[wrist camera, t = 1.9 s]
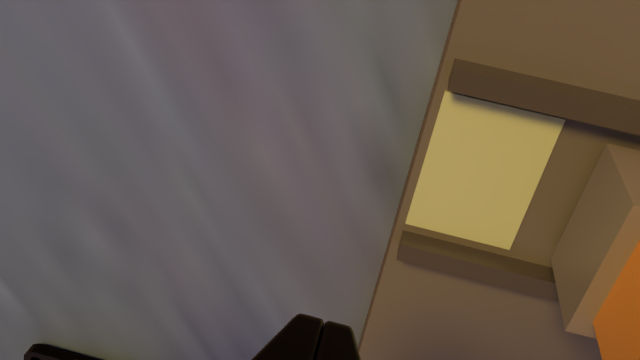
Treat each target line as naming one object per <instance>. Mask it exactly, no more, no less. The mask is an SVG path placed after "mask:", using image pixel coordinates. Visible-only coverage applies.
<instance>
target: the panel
mask: <svg viewBox="0 0 640 360" xmlns="http://www.w3.org/2000/svg"><path fill="white" fill-rule="evenodd" d="M606 143H609V144H613V145H617V146H621V147H626V148H630V149H634V150H638V151H640V0H458V2H457V6H456V9H455V13H454V16H453V20H452V23H451V27H450V30H449V34H448V37H447V40H446V44H445V47H444V51H443V54H442V58H441V61H440V65H439V68H438V72H437V75H436V79H435V82H434V86H433V89H432V93H431V96H430V99H429V103H428V106H427V110H426V113H425V117H424V120H423V124H422V127H421V131H420V134H419V138H418V141H417V145H416V148H415V152H414V155H413V158H412V162H411V165H410V169H409V172H408V176H407V179H406V183H405V186H404V190H403V193H402V197H401V200H400V204H399V207H398V211H397V214H396V217H395V221H394V224H393V228H392V231H391V235H390V238H389V242H388V245H387V249H386V252H385V256H384V259H383V263H382V266H381V270H380V273H379V276H378V280H377V283H376V287H375V290H374V294H373V297H372V301H371V304H370V308H369V311H368V315H367V318H366V322H365V325H364V329H363V332H362V335H361V339H360V342H359V346H358V351H359V355H360V359H361V360H602V357H601V353H600V349H599V345H598V341H597V339H594V338H590V337H587V336H583V335H579V334H575V333H571V332H567V331H565V328H564V323H563V318H562V313H561V308H560V303H559V298H558V293H557V288H556V283H555V278H554V273H553V268H552V263H551V257H552V255H553V253H554V251H555V249H556V247H557V245H558V243H559V240H560V238H561V236H562V234H563V232H564V230H565V228H566V226H567V224H568V222H569V220H570V218H571V216H572V213H573V211H574V209H575V207H576V205H577V203H578V201H579V199H580V197H581V195H582V193H583V191H584V188H585V186H586V184H587V182H588V180H589V178H590V176H591V174H592V172H593V170H594V168H595V166H596V163H597V161H598V159H599V157H600V155H601V153H602V151H603V149H604V147H605V145H606Z"/></svg>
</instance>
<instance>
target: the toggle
mask: <svg viewBox="0 0 640 360" xmlns="http://www.w3.org/2000/svg"><path fill="white" fill-rule="evenodd" d="M551 263H552V268H553V273H554V278H555V283H556V288H557V293H558V298H559V303H560V308H561V313H562V318H563V323H564V328H565V331H567V332H571V333H575V334H579V335H583V336H587V337H590V338H594V339H597V341H598V345H599V349H600V353H601V357H602V360H640V151H638V150H634V149H630V148H626V147H621V146H617V145H613V144H609V143H606V145H605V147H604V149H603V151H602V153H601V155H600V157H599V159H598V161H597V163H596V166H595V168H594V170H593V172H592V174H591V176H590V178H589V180H588V182H587V184H586V186H585V188H584V191H583V193H582V195H581V197H580V199H579V201H578V203H577V205H576V207H575V209H574V211H573V213H572V216H571V218H570V220H569V222H568V224H567V226H566V228H565V230H564V232H563V234H562V236H561V238H560V240H559V243H558V245H557V247H556V249H555V251H554V253H553V255H552V257H551Z"/></svg>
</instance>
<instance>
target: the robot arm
mask: <svg viewBox="0 0 640 360" xmlns="http://www.w3.org/2000/svg"><path fill="white" fill-rule="evenodd" d="M323 326H324V327H323ZM24 360H97V359H93V358H89V357H86V356H82V355H79V354H75V353H72V352H68V351H65V350H61V349H57V348H54V347H50V346H47V345H43V344H33V345H32V346H31V347H30V349H29V350H28V351H27V352H26V354H25V355H24ZM252 360H361V359H360V355H359V351H358V348H357V344H356V340H355V337H354V333H353V330H352V328H351V327H349V326H346V325H343V324H339V323H335V322H331V321H327V322H326V323H325V324H324V322H323V320H322V319H320V318H316V317H313V316H309V315H305V314H298V315H296V316H295V317H294V318H293V319H292V320H291V321H290V322H289V323H288V324H287V325H286V326H285V327H284V328H283V329H282V330H281V331H280V332H279V333H278V334H277V335H276V336H275V337H274V338H273V339H272V340H271V341H270V342H269V343H268V344H267V345H266V346H265V347H264V348H263V349H262V350H261V351H260V352H259V353H258V354H257V355H256V356H255V357H254V358H253V359H252Z"/></svg>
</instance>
